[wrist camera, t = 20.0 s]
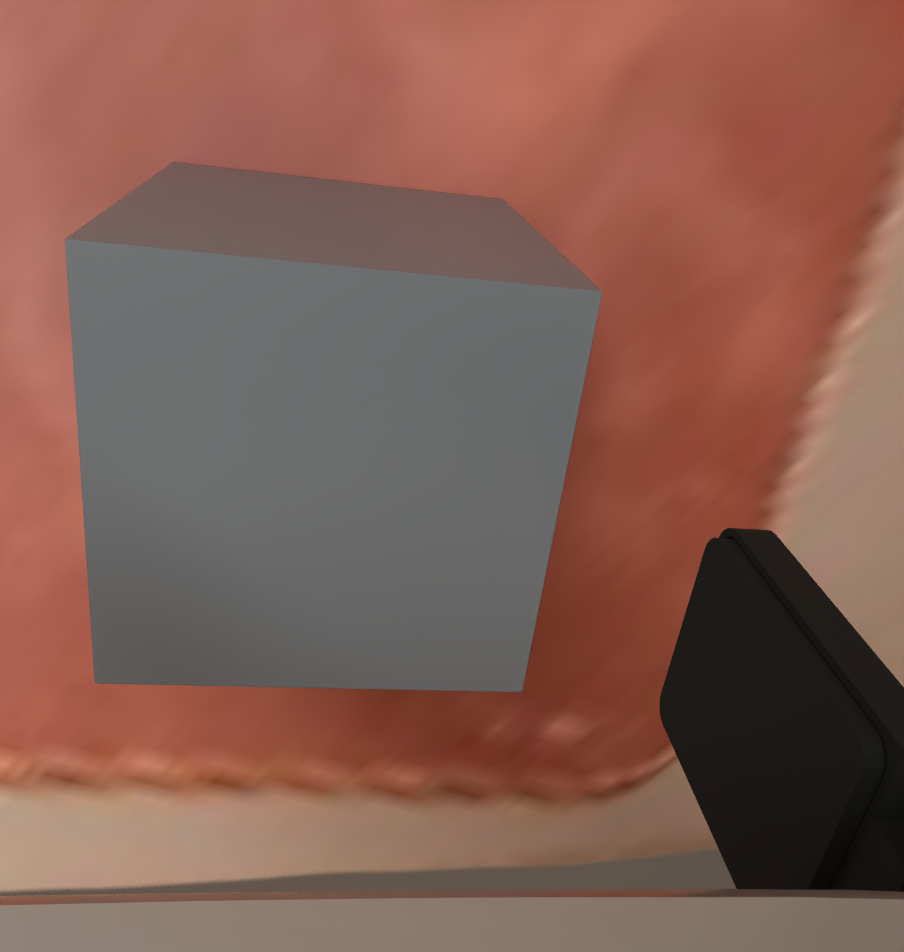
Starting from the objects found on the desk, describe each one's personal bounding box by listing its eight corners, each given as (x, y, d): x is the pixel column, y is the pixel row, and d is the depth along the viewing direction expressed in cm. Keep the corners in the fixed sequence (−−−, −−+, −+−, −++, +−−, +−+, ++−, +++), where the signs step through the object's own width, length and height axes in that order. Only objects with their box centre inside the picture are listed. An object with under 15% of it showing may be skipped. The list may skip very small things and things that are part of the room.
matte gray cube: (173, 161, 20) (64, 239, 12) (503, 199, 21) (602, 291, 13) (177, 466, 23) (94, 683, 15) (462, 483, 24) (521, 692, 16)
